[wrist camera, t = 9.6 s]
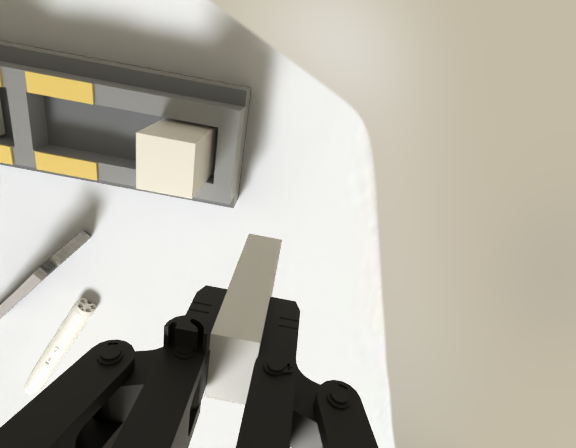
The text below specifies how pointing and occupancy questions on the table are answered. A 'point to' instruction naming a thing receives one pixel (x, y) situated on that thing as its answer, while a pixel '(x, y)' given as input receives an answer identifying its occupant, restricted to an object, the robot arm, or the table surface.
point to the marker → (59, 345)
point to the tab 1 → (1, 122)
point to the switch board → (110, 117)
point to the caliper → (43, 271)
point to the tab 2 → (174, 157)
